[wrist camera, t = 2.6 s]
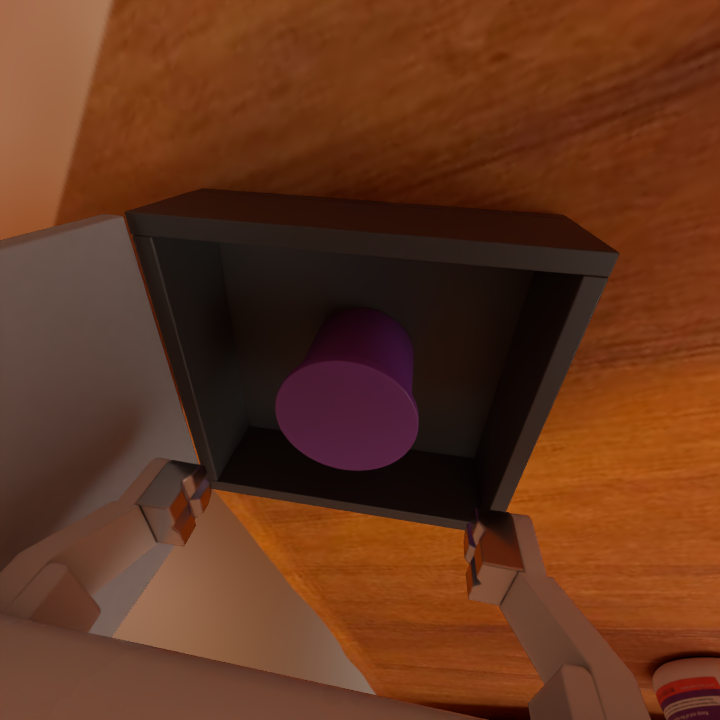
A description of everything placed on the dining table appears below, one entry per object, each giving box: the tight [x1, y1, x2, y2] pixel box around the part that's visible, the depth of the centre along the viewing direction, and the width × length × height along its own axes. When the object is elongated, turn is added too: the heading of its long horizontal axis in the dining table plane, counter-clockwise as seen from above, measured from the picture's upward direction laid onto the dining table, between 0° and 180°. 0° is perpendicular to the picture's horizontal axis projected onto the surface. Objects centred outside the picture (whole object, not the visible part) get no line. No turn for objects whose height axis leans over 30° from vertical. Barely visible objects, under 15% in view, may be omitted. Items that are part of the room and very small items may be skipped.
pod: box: [275, 308, 419, 471], centre depth 15 cm, size 5×5×5 cm
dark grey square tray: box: [125, 189, 619, 530], centre depth 16 cm, size 14×13×5 cm
